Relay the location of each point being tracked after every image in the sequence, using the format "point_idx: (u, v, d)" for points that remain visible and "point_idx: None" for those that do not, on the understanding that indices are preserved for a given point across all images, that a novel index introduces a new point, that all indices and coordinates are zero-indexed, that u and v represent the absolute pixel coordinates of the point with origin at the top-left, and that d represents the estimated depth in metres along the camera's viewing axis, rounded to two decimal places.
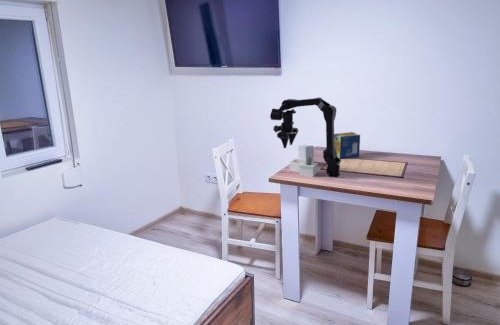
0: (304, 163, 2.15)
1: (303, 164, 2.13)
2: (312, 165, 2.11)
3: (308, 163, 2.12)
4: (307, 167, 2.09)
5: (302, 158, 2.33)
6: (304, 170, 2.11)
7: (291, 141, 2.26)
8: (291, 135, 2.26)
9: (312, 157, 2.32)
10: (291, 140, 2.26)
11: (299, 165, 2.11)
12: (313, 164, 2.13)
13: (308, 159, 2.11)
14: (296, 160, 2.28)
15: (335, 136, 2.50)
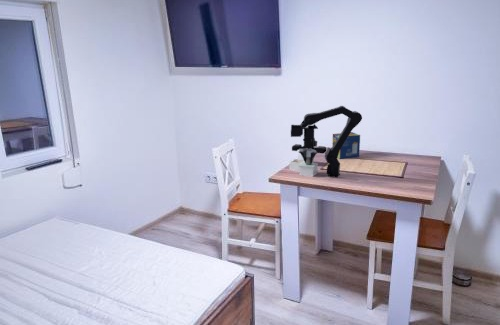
0: (304, 163, 2.15)
1: (303, 164, 2.13)
2: (312, 165, 2.11)
3: (308, 163, 2.12)
4: (307, 167, 2.09)
5: (302, 158, 2.33)
6: (304, 170, 2.11)
7: None
8: None
9: None
10: None
11: (299, 165, 2.11)
12: (313, 164, 2.13)
13: (308, 159, 2.11)
14: (296, 160, 2.28)
15: (335, 136, 2.50)
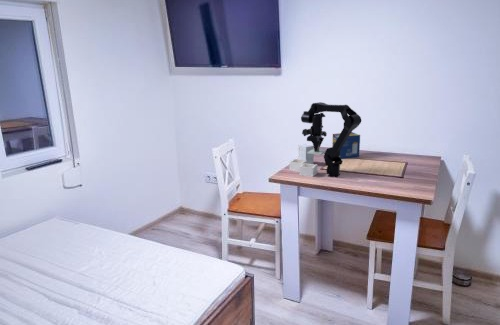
0: (313, 152, 2.19)
1: (317, 152, 2.18)
2: (320, 150, 2.22)
3: None
4: (324, 152, 2.20)
5: (302, 158, 2.33)
6: (304, 170, 2.11)
7: None
8: None
9: (312, 157, 2.32)
10: None
11: (321, 153, 2.15)
12: None
13: None
14: (296, 160, 2.28)
15: (335, 136, 2.50)
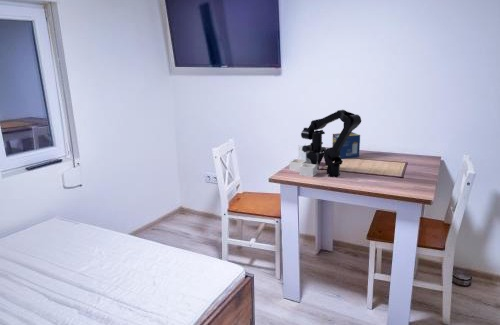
0: None
1: None
2: None
3: (318, 169, 2.23)
4: None
5: (302, 158, 2.33)
6: (304, 170, 2.11)
7: (319, 161, 2.26)
8: (319, 155, 2.26)
9: None
10: (319, 160, 2.26)
11: None
12: None
13: (318, 165, 2.23)
14: (296, 160, 2.28)
15: (335, 136, 2.50)
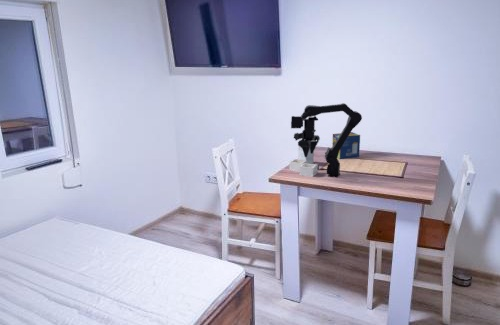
0: None
1: None
2: None
3: (318, 169, 2.23)
4: None
5: (302, 158, 2.33)
6: (304, 170, 2.11)
7: (312, 149, 2.15)
8: (312, 143, 2.15)
9: (312, 157, 2.32)
10: (312, 148, 2.15)
11: None
12: None
13: (318, 165, 2.23)
14: (296, 160, 2.28)
15: (335, 136, 2.50)
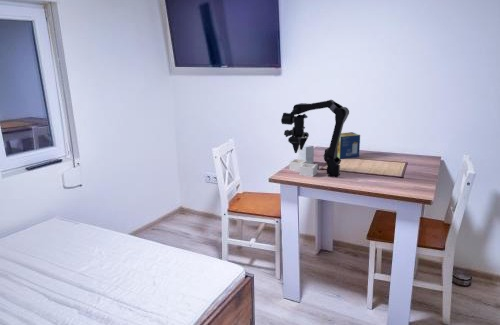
0: None
1: None
2: None
3: (318, 169, 2.23)
4: None
5: (302, 158, 2.33)
6: (304, 170, 2.11)
7: (301, 146, 2.24)
8: (301, 140, 2.24)
9: (312, 157, 2.32)
10: (301, 145, 2.24)
11: None
12: None
13: (318, 165, 2.23)
14: (296, 160, 2.28)
15: None
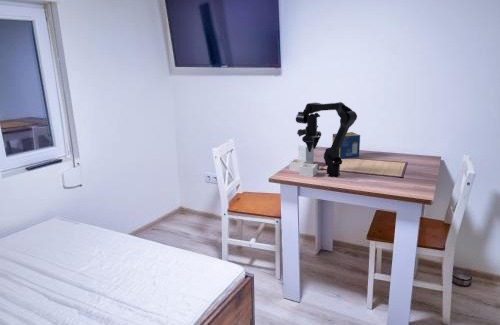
0: None
1: None
2: None
3: (318, 169, 2.23)
4: None
5: (302, 158, 2.33)
6: (304, 170, 2.11)
7: (314, 145, 2.25)
8: (314, 139, 2.25)
9: (312, 157, 2.32)
10: (314, 144, 2.25)
11: None
12: None
13: (318, 165, 2.23)
14: (296, 160, 2.28)
15: (335, 136, 2.50)
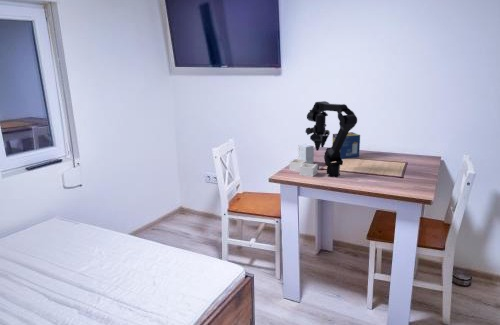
0: None
1: None
2: None
3: (318, 169, 2.23)
4: None
5: (302, 158, 2.33)
6: (304, 170, 2.11)
7: (323, 143, 2.26)
8: (323, 137, 2.25)
9: (312, 157, 2.32)
10: (323, 142, 2.25)
11: None
12: None
13: (318, 165, 2.23)
14: (296, 160, 2.28)
15: (335, 136, 2.50)
